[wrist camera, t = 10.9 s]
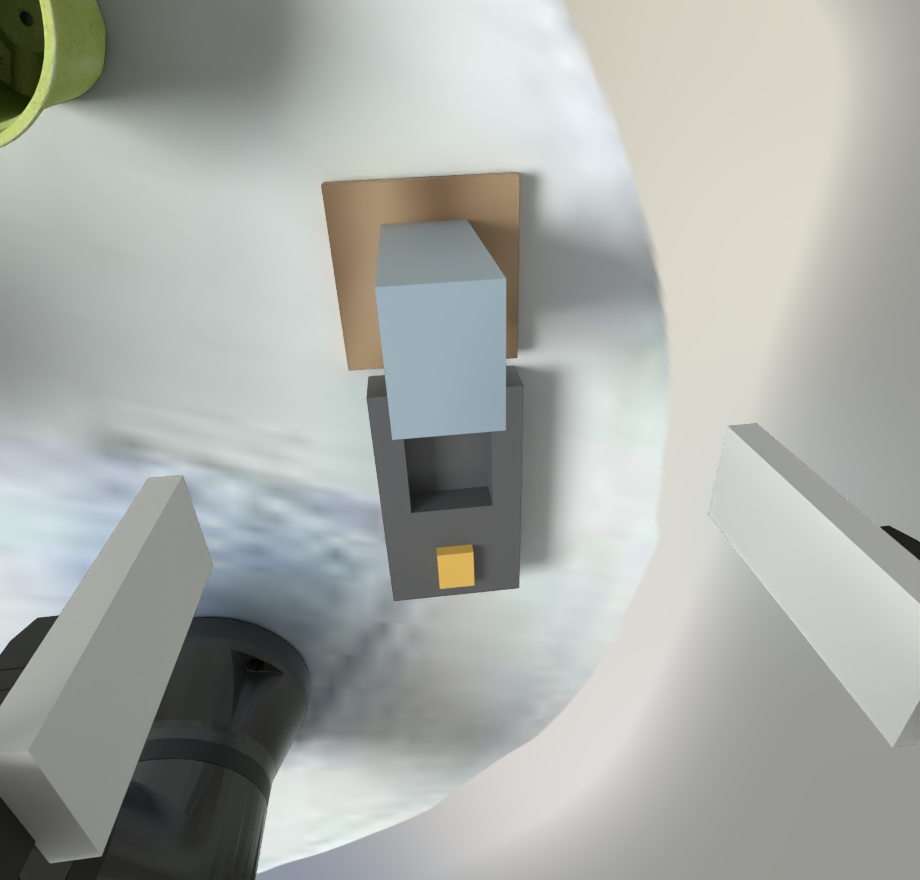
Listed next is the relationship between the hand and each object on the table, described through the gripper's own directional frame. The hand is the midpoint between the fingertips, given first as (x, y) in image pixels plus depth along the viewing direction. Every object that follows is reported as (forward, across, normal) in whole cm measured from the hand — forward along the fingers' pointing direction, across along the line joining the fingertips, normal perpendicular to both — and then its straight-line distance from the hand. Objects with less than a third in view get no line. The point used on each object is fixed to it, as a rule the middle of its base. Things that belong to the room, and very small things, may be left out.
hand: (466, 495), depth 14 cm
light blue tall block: (+20, 0, 0) cm, 20 cm away
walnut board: (+21, 0, 0) cm, 21 cm away
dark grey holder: (+21, -1, +14) cm, 25 cm away
